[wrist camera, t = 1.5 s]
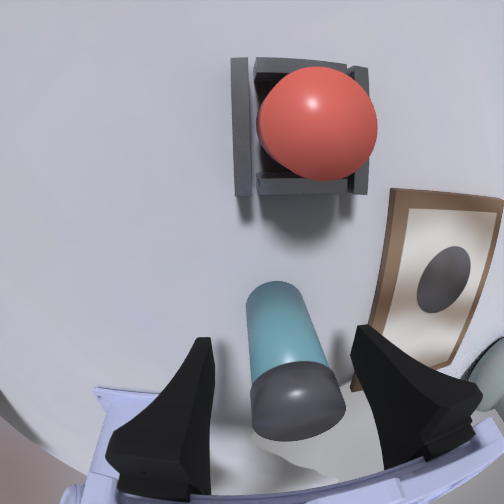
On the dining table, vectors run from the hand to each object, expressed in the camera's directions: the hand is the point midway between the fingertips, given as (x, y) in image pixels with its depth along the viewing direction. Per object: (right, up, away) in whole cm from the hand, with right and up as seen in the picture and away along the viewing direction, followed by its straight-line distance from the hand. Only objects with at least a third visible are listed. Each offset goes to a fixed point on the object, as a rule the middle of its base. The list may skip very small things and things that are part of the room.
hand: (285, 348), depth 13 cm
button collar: (0, +11, 0) cm, 11 cm away
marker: (0, +1, +4) cm, 4 cm away
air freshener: (+27, -8, +10) cm, 30 cm away
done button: (+1, +10, -2) cm, 10 cm away
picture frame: (+12, +1, +4) cm, 13 cm away
